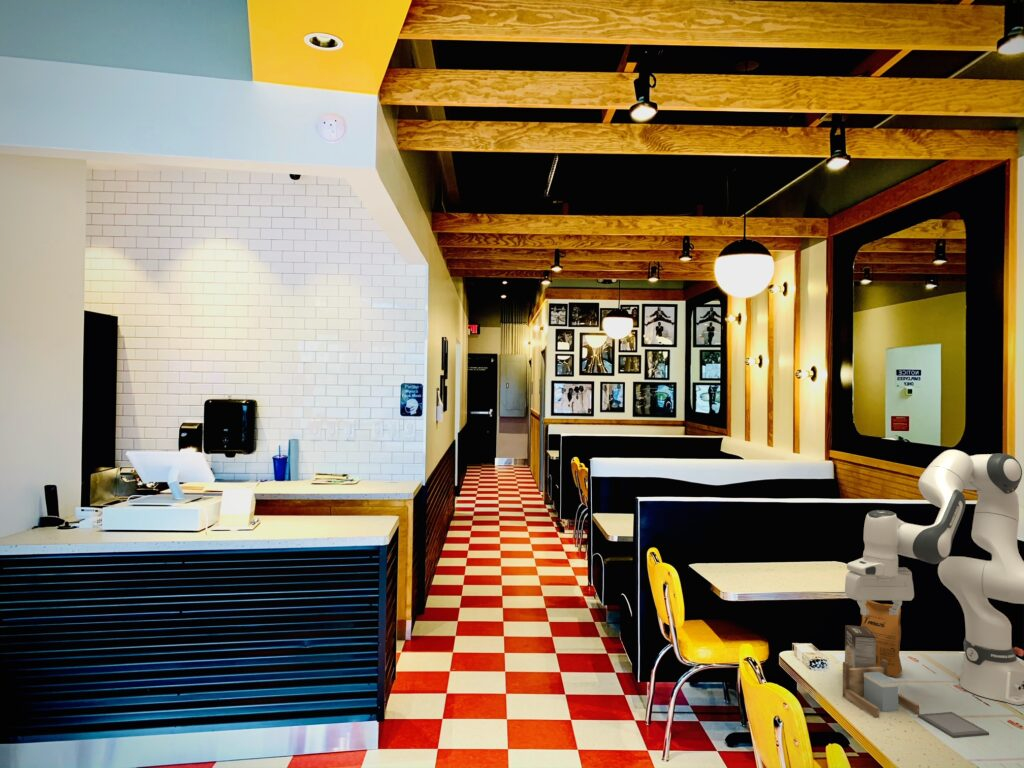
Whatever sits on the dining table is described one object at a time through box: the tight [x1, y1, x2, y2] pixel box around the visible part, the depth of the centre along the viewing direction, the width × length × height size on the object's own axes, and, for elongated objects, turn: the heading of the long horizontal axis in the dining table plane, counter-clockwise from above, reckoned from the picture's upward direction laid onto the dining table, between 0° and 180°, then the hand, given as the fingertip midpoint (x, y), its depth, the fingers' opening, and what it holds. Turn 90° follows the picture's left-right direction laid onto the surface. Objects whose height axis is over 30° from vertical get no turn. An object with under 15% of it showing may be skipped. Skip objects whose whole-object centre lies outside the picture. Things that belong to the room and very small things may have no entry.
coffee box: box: [844, 624, 876, 668], centre depth 191 cm, size 9×6×16 cm
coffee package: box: [860, 600, 903, 678], centre depth 201 cm, size 10×12×22 cm
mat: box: [917, 711, 990, 739], centre depth 165 cm, size 11×11×1 cm
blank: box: [863, 672, 899, 713], centre depth 176 cm, size 5×7×8 cm
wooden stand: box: [842, 659, 920, 719], centre depth 176 cm, size 14×13×10 cm
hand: (879, 615), depth 179 cm, fingers open, 8 cm apart
